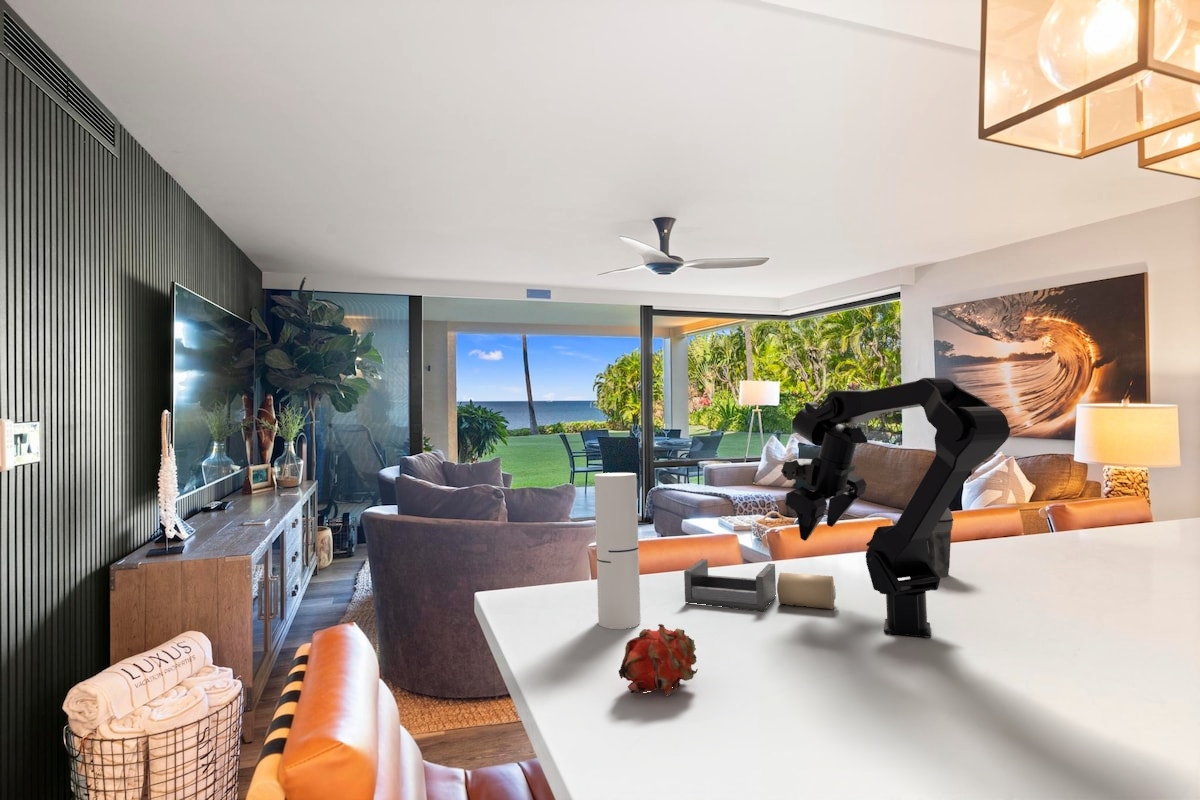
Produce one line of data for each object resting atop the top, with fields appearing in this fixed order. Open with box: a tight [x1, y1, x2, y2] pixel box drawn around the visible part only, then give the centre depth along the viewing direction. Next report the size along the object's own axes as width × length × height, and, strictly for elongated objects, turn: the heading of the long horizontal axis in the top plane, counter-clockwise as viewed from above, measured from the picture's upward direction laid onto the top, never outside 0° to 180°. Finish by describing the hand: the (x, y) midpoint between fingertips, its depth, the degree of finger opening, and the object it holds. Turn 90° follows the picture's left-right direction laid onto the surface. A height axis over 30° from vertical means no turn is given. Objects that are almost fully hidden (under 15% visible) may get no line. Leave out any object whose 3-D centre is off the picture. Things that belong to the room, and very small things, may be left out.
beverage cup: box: [927, 507, 954, 578], centre depth 139 cm, size 7×7×20 cm
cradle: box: [683, 558, 777, 612], centre depth 124 cm, size 14×11×6 cm
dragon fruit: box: [618, 623, 699, 696], centre depth 84 cm, size 8×8×12 cm
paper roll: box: [776, 572, 837, 610], centre depth 119 cm, size 10×6×6 cm, turn 64°
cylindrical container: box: [593, 472, 642, 630], centre depth 112 cm, size 7×7×25 cm
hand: (816, 532), depth 124 cm, fingers open, 9 cm apart
